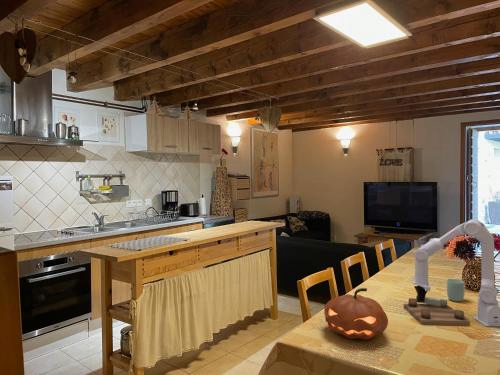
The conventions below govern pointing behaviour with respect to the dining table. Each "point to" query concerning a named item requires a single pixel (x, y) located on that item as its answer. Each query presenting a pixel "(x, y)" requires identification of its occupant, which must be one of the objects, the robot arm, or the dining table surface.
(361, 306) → the pumpkin
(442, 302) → the swing leg
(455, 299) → the cup
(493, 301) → the robot arm
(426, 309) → the stool seat
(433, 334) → the dining table surface
